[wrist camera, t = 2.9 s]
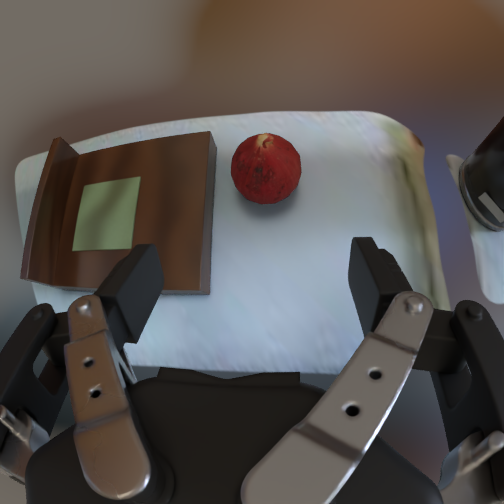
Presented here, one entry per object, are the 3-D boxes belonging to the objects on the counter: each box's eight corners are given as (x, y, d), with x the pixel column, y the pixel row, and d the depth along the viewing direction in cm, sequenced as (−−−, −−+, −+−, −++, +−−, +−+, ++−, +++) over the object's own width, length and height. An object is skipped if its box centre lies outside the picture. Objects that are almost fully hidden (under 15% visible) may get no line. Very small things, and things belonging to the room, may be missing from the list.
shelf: (216, 147, 29) (200, 103, 22) (210, 294, 25) (183, 282, 18) (85, 168, 31) (53, 138, 24) (64, 290, 27) (19, 278, 20)
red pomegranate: (287, 225, 26) (288, 183, 18) (228, 206, 27) (208, 161, 19) (306, 172, 27) (313, 119, 19) (251, 156, 28) (240, 102, 20)
